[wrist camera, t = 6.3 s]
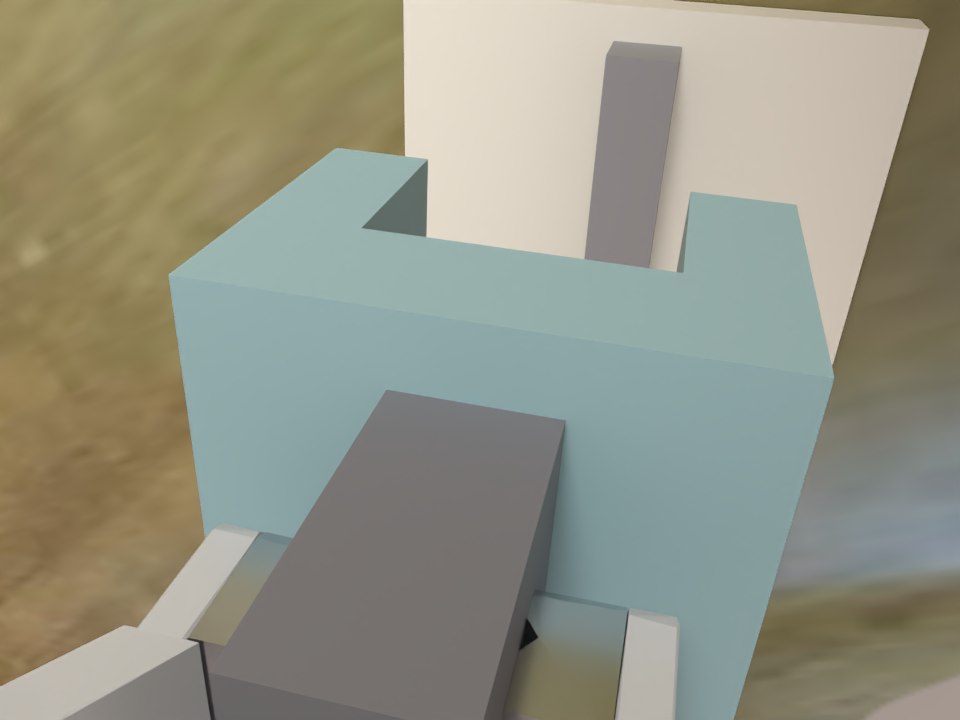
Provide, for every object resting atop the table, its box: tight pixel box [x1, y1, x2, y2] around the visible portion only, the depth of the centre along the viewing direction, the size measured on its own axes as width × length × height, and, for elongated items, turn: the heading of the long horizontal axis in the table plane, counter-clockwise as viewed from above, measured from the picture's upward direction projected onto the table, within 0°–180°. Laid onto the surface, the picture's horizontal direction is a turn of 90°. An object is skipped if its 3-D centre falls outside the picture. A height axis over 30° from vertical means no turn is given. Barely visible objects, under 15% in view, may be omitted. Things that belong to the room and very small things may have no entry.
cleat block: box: [169, 148, 834, 720], centre depth 11 cm, size 6×7×9 cm
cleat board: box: [403, 0, 929, 365], centre depth 29 cm, size 14×15×4 cm
